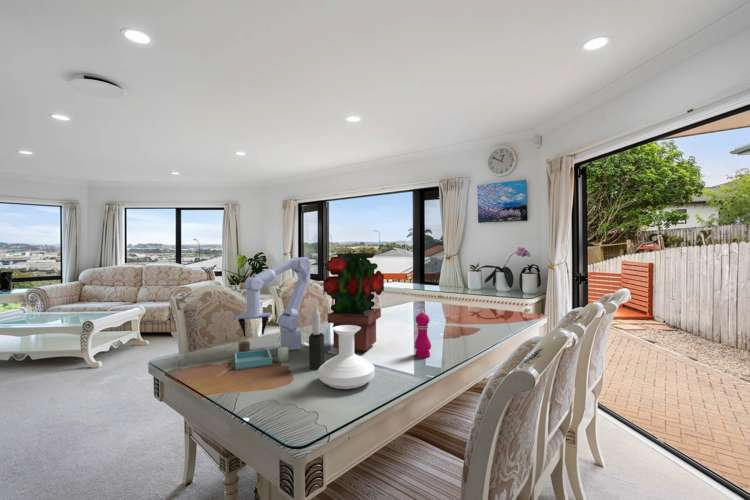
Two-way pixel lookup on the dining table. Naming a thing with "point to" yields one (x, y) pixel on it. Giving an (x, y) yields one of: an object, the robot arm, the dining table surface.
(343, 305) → the potted plant
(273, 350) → the slate block
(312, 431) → the dining table surface
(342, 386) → the white vase
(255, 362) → the tray
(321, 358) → the candle
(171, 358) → the dining table surface
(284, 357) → the sage cylinder
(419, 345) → the pepper mill
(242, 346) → the walnut block
